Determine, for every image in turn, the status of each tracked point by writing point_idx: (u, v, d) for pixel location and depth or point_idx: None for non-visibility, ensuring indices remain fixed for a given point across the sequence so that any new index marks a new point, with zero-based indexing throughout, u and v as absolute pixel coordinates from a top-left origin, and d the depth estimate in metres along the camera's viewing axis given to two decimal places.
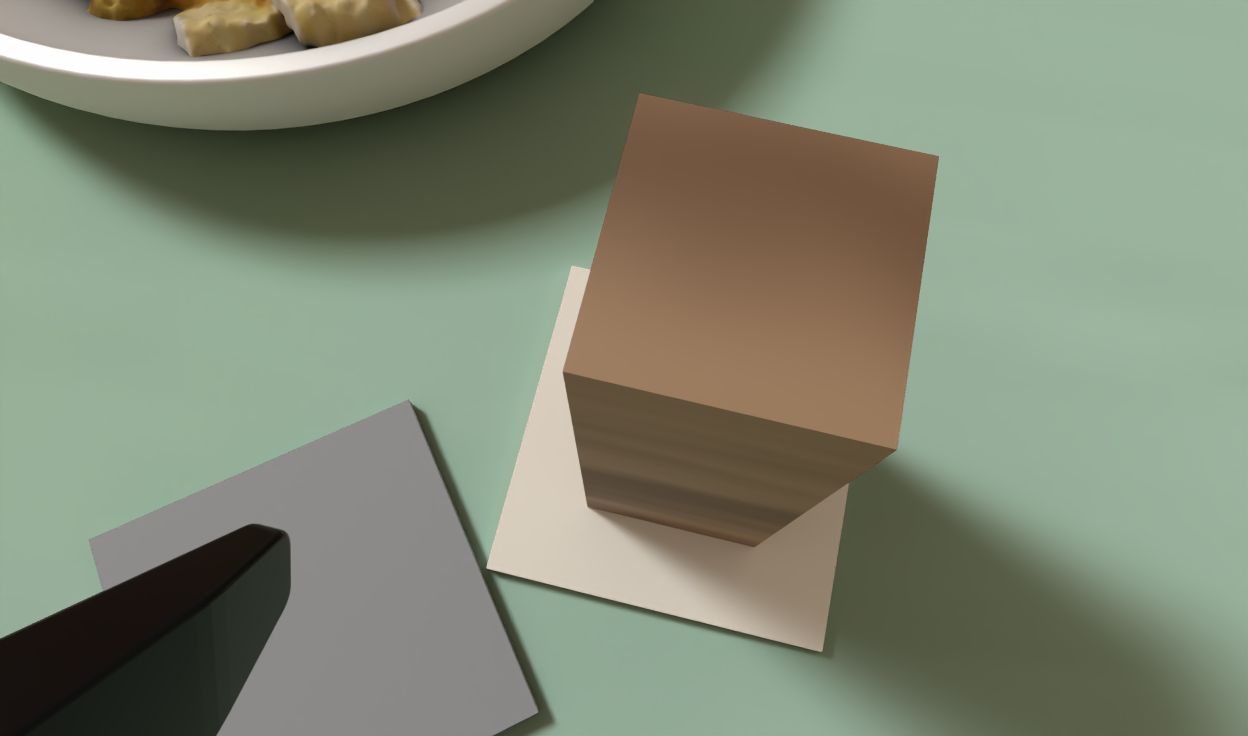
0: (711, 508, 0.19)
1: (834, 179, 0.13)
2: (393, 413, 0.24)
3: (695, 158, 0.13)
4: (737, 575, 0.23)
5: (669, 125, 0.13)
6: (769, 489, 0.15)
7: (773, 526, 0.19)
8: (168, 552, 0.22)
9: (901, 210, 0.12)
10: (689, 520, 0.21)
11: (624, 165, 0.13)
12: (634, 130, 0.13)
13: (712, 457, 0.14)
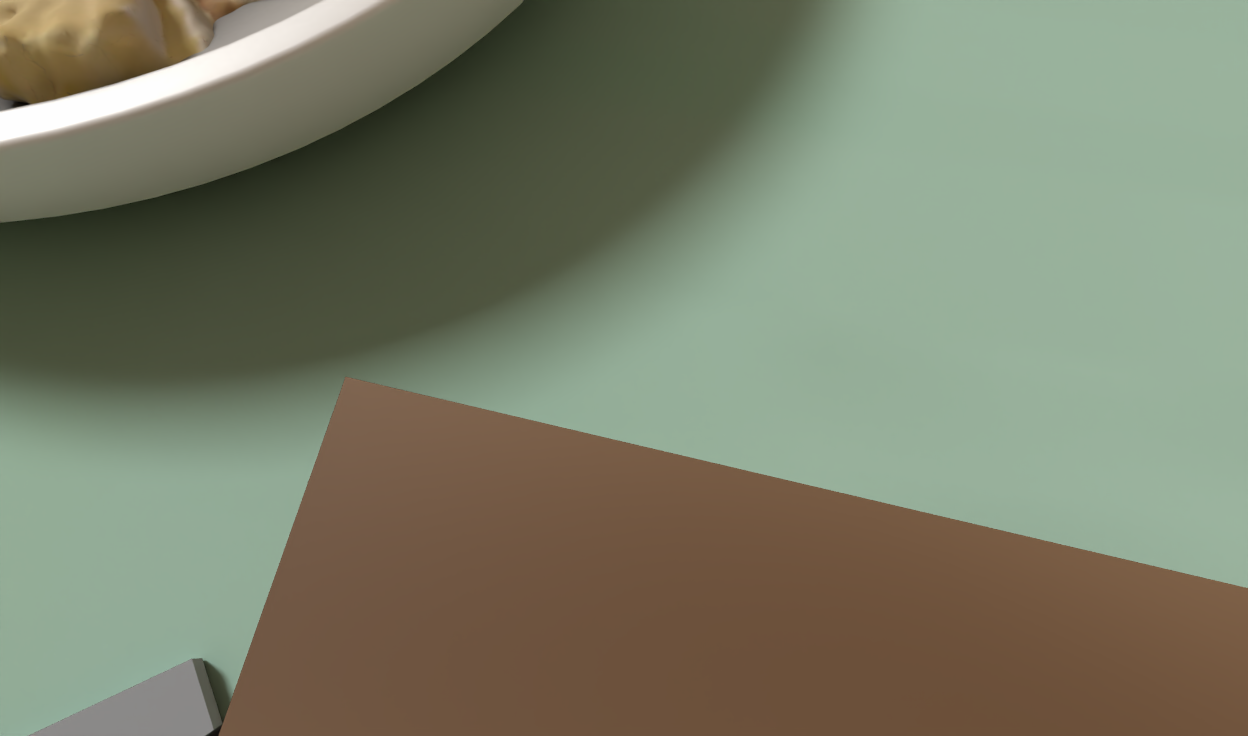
0: None
1: (960, 694, 0.04)
2: (166, 682, 0.15)
3: (504, 614, 0.04)
4: None
5: (428, 492, 0.04)
6: None
7: None
8: None
9: None
10: None
11: (265, 648, 0.04)
12: (314, 512, 0.04)
13: None
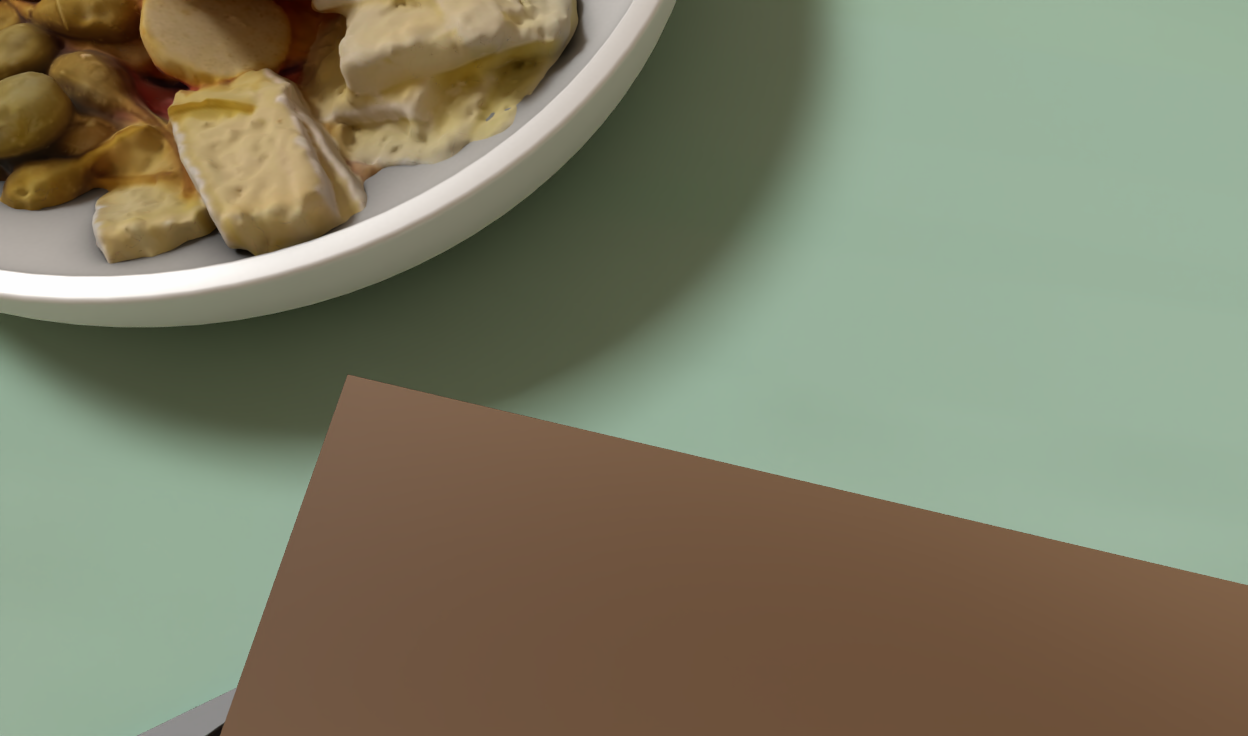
0: None
1: (961, 690, 0.04)
2: None
3: (506, 611, 0.04)
4: None
5: (433, 489, 0.04)
6: None
7: None
8: None
9: None
10: None
11: (268, 644, 0.04)
12: (317, 509, 0.04)
13: None
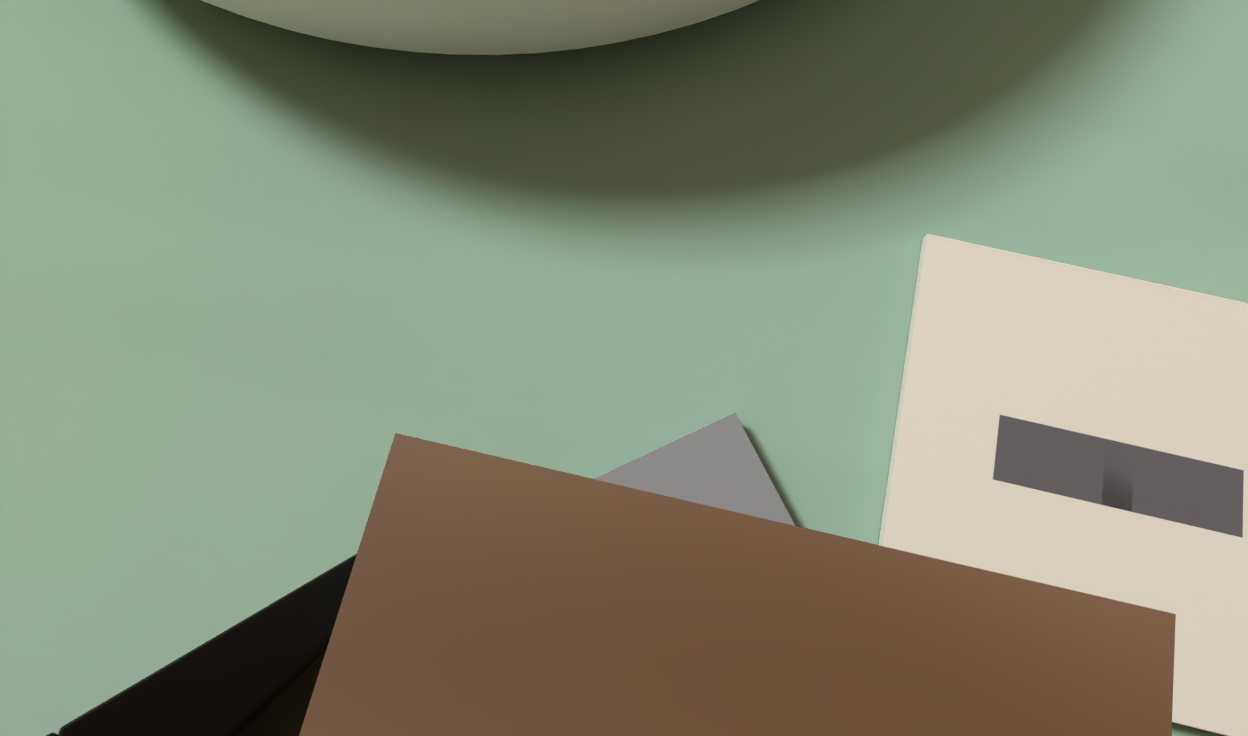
0: None
1: (901, 693, 0.05)
2: (716, 431, 0.17)
3: (530, 630, 0.05)
4: (1214, 656, 0.16)
5: (466, 529, 0.05)
6: None
7: None
8: None
9: None
10: None
11: (336, 659, 0.05)
12: (373, 546, 0.05)
13: None
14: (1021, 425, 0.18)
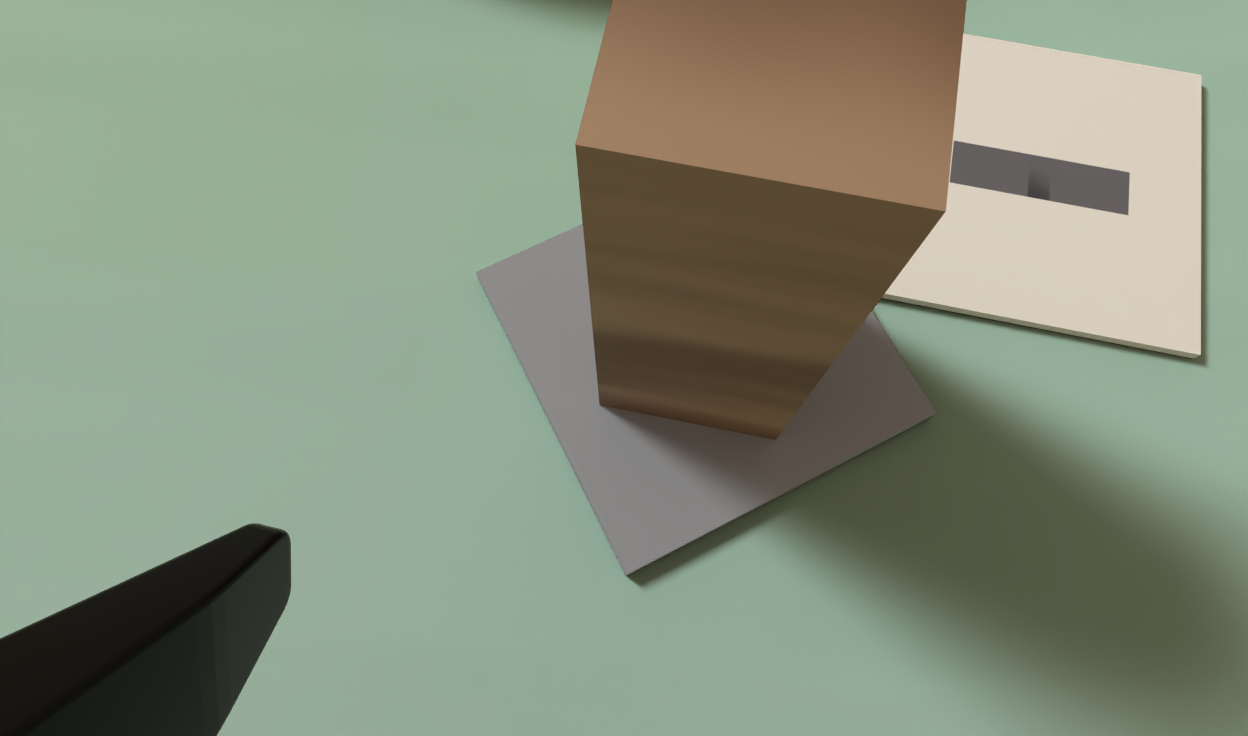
0: (732, 377, 0.18)
1: None
2: None
3: None
4: (1107, 290, 0.23)
5: None
6: (797, 324, 0.14)
7: (798, 396, 0.18)
8: (555, 281, 0.23)
9: None
10: (707, 405, 0.20)
11: None
12: None
13: (737, 277, 0.13)
14: (969, 147, 0.25)
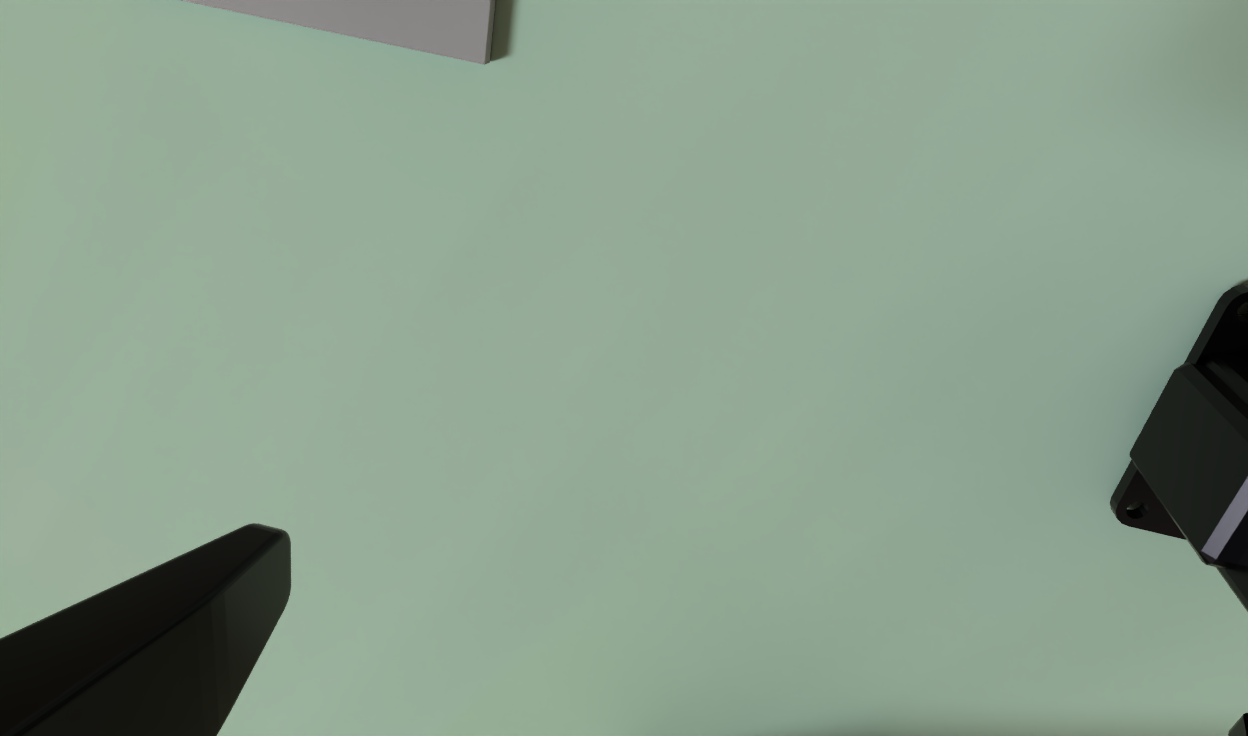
0: None
1: None
2: None
3: None
4: None
5: None
6: None
7: None
8: None
9: None
10: None
11: None
12: None
13: None
14: None
